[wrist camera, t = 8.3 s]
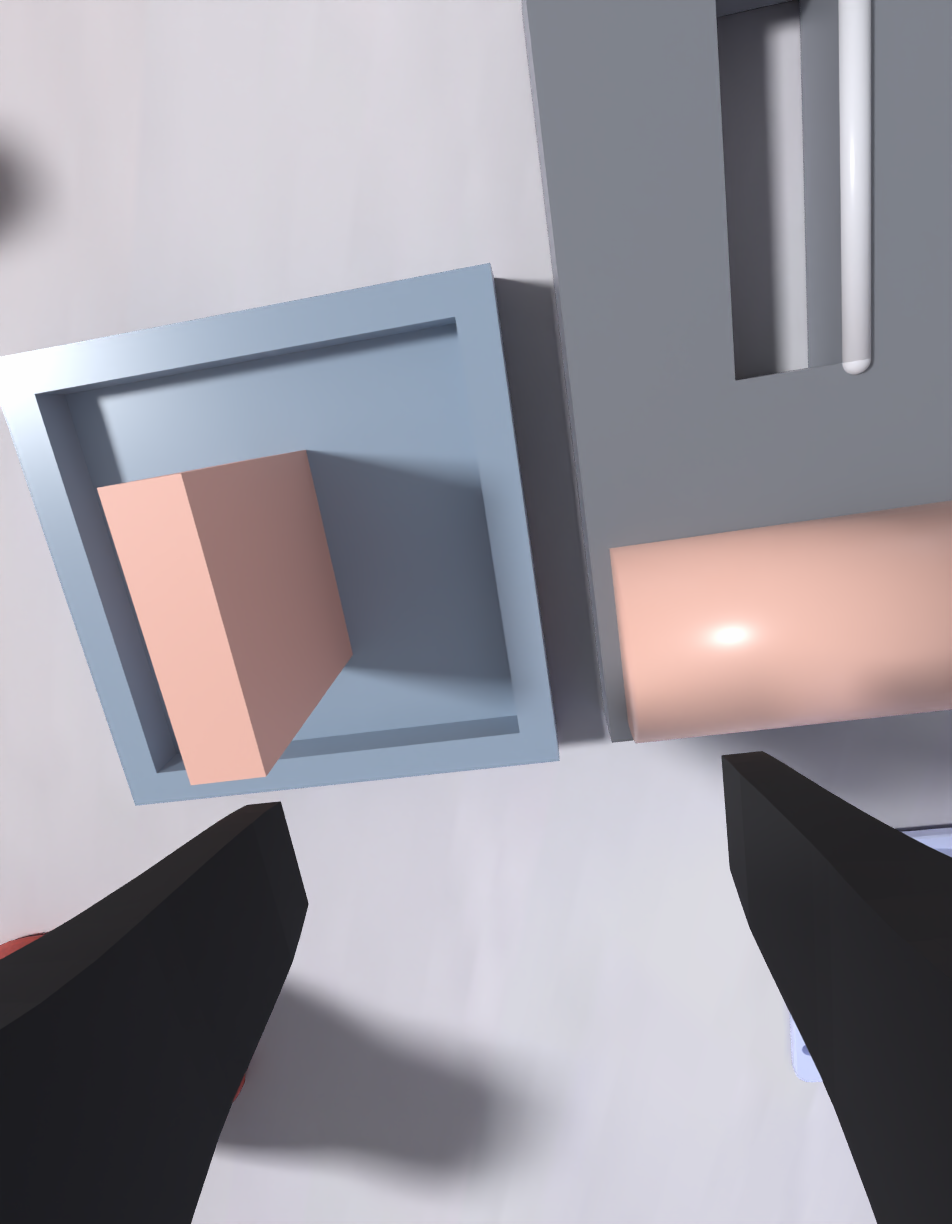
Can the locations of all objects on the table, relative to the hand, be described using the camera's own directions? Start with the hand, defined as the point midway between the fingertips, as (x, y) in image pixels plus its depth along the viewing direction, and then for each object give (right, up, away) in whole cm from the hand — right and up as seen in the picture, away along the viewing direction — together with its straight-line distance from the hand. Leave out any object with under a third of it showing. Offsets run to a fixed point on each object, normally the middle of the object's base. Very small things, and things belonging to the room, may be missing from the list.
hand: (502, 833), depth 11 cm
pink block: (-5, +5, +8) cm, 11 cm away
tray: (-5, +5, +9) cm, 12 cm away
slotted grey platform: (+7, +10, +7) cm, 14 cm away
